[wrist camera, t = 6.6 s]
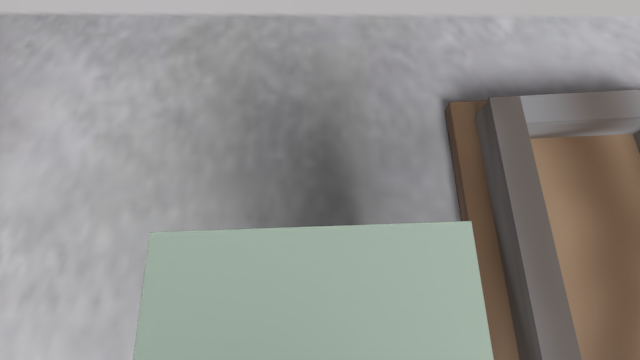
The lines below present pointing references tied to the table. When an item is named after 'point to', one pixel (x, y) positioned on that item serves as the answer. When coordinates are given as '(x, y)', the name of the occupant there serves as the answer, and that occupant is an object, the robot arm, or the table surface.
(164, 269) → the pale green angular block
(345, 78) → the table surface
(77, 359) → the table surface
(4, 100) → the table surface
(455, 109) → the track
